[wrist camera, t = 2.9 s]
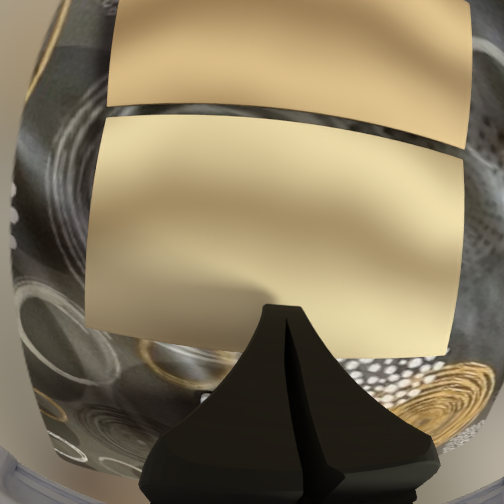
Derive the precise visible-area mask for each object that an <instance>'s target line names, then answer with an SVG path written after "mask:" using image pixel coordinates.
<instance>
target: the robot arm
mask: <svg viewBox="0 0 504 504" xmlns="http://www.w3.org/2000/svg"><path fill="white" fill-rule="evenodd" d="M440 466H441V465H440V461H439V457H438V454H437V451H436V447H435V445H434V442H433V440H432V438H431V436H429V435H427V434H426V433H424V432H422V431H420V430H419V429H417V428H415V427H413V426H412V425H410V424H408V423H406V422H405V421H403V420H402V419H400V418H399V417H397V416H396V415H395V414H393V413H392V412H390V411H389V410H388V409H386V408H385V407H384V406H382V405H381V404H380V403H379V402H377V401H376V400H375V399H374V398H373V397H372V396H370V395H369V394H368V393H367V392H366V391H365V390H364V389H362V388H361V387H360V386H359V385H358V384H357V383H356V382H355V381H354V380H353V379H352V378H351V376H350V375H349V374H348V373H347V372H346V371H345V370H344V369H343V367H342V366H341V365H340V364H339V363H338V361H337V360H336V359H335V358H334V356H333V355H332V354H331V352H330V351H329V350H328V348H327V347H326V345H325V344H324V342H323V341H322V340H321V338H320V337H319V335H318V334H317V332H316V330H315V329H314V327H313V326H312V324H311V322H310V321H309V319H308V317H307V315H306V314H305V312H304V310H303V309H302V307H301V306H290V305H278V304H265V305H263V307H262V314H261V318H260V320H259V323H258V326H257V328H256V330H255V332H254V334H253V336H252V338H251V340H250V342H249V344H248V345H247V347H246V349H245V350H244V352H243V354H242V355H241V357H240V358H239V360H238V361H237V363H236V364H235V366H234V367H233V368H232V370H231V371H230V372H229V374H228V375H227V376H226V377H225V379H224V380H223V381H222V382H221V383H220V384H219V385H218V387H217V388H216V389H215V390H214V391H213V392H212V393H211V394H209V393H205V394H202V396H201V404H200V405H199V406H197V407H196V408H195V409H194V410H193V411H192V412H191V413H190V414H189V415H187V416H186V417H185V418H184V419H182V420H181V421H180V422H178V423H177V424H176V425H174V426H173V427H171V428H170V429H169V430H167V431H166V432H165V433H163V434H162V435H161V436H160V437H159V439H158V440H157V442H156V443H155V445H154V446H153V448H152V450H151V451H150V453H149V455H148V457H147V459H146V461H145V464H144V466H143V470H142V473H141V477H140V480H139V484H138V485H139V488H140V490H141V491H142V492H143V493H144V495H145V496H146V497H147V498H148V500H149V501H150V502H151V503H150V504H413V502H414V501H416V499H417V495H416V491H415V489H417V488H418V487H419V486H421V485H422V484H423V483H424V482H426V481H427V480H428V479H430V478H431V477H432V476H433V475H434V474H435V473H436V472H437V471H438V469H439V467H440ZM0 504H107V503H104V502H101V501H98V500H96V499H93V498H90V497H88V496H85V495H83V494H81V493H78V492H76V491H73V490H71V489H69V488H67V487H65V486H63V485H60V484H58V483H56V482H54V481H52V480H50V479H48V478H46V477H44V476H42V475H40V474H39V473H37V472H35V471H33V470H31V469H29V468H28V467H26V466H24V465H22V464H21V463H19V462H18V461H17V460H16V459H15V458H14V457H13V456H12V455H11V454H10V453H9V452H8V451H7V450H5V449H4V448H3V447H1V446H0ZM444 504H504V477H502V478H501V479H499V480H497V481H495V482H493V483H491V484H489V485H487V486H485V487H482V488H480V489H478V490H476V491H474V492H471V493H469V494H467V495H464V496H462V497H460V498H457V499H455V500H452V501H449V502H446V503H444Z"/></svg>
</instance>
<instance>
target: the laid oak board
mask: <svg viewBox="0 0 504 504" xmlns="http://www.w3.org/2000/svg"><path fill="white" fill-rule="evenodd" d="M471 81H472V33H471V17H470V6H469V3H467V2H465V1H464V0H119V4H118V9H117V15H116V21H115V27H114V34H113V41H112V49H111V58H110V68H109V80H108V94H107V107H116V106H136V105H159V104H212V105H235V106H250V107H262V108H273V109H282V110H291V111H299V112H306V113H313V114H320V115H326V116H332V117H338V118H343V119H349V120H354V121H359V122H364V123H368V124H373V125H377V126H382V127H386V128H390V129H394V130H398V131H402V132H406V133H409V134H413V135H417V136H420V137H424V138H427V139H430V140H434V141H437V142H440V143H443V144H446V145H450V146H454V147H457V148H461V149H465V143H466V136H467V128H468V120H469V110H470V98H471Z"/></svg>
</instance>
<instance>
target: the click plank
mask: <svg viewBox="0 0 504 504" xmlns="http://www.w3.org/2000/svg"><path fill="white" fill-rule="evenodd" d="M463 229H464V173H463V160H462V159H459V158H456V157H453V156H450V155H447V154H444V153H440V152H437V151H433V150H430V149H426V148H423V147H419V146H416V145H412V144H408V143H404V142H400V141H396V140H392V139H387V138H383V137H379V136H374V135H369V134H364V133H360V132H354V131H349V130H344V129H338V128H332V127H326V126H319V125H313V124H306V123H298V122H290V121H281V120H272V119H261V118H249V117H235V116H215V115H142V116H122V117H108V118H106V122H105V126H104V130H103V135H102V140H101V144H100V149H99V155H98V160H97V166H96V172H95V178H94V184H93V191H92V199H91V207H90V215H89V225H88V237H87V250H86V271H85V327H88V328H92V329H97V330H101V331H106V332H110V333H115V334H120V335H125V336H130V337H135V338H141V339H146V340H152V341H158V342H164V343H170V344H176V345H183V346H190V347H197V348H205V349H213V350H221V351H230V352H240V353H243V352H244V350H245V349H246V347H247V345H248V344H249V342H250V340H251V338H252V336H253V334H254V332H255V330H256V328H257V326H258V323H259V320H260V318H261V314H262V307H263V305H265V304H278V305H290V306H301V307H302V309H303V310H304V312H305V314H306V315H307V317H308V319H309V321H310V322H311V324H312V326H313V327H314V329H315V330H316V332H317V334H318V335H319V337H320V338H321V340H322V341H323V342H324V344H325V345H326V347H327V348H328V350H329V351H330V352H331V354H332V355H333V356H334V358H406V357H425V356H440V355H445V354H446V350H447V345H448V341H449V337H450V332H451V327H452V322H453V317H454V311H455V305H456V299H457V293H458V285H459V278H460V269H461V259H462V247H463Z"/></svg>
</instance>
